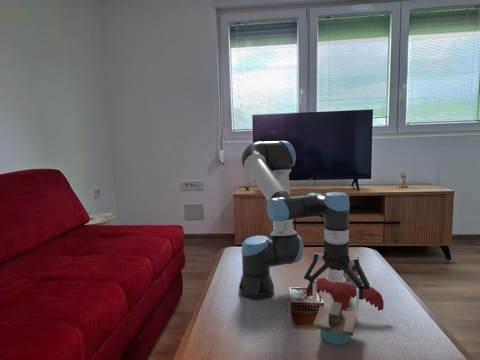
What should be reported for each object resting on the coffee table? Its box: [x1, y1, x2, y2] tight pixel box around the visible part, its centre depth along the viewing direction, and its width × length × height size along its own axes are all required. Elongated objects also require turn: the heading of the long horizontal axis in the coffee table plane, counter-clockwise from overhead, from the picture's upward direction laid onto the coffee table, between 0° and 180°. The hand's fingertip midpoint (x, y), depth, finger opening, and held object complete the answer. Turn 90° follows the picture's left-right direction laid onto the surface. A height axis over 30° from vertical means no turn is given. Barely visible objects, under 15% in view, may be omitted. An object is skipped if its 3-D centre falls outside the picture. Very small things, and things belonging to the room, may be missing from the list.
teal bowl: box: [320, 329, 351, 346], centre depth 105 cm, size 9×9×5 cm
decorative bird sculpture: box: [305, 277, 385, 312], centre depth 120 cm, size 28×9×15 cm
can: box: [326, 267, 344, 282], centre depth 136 cm, size 6×6×12 cm
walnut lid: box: [312, 301, 357, 337], centre depth 105 cm, size 12×12×5 cm
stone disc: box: [343, 256, 361, 281], centre depth 147 cm, size 10×4×10 cm, turn 125°
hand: (335, 303), depth 104 cm, fingers open, 13 cm apart
